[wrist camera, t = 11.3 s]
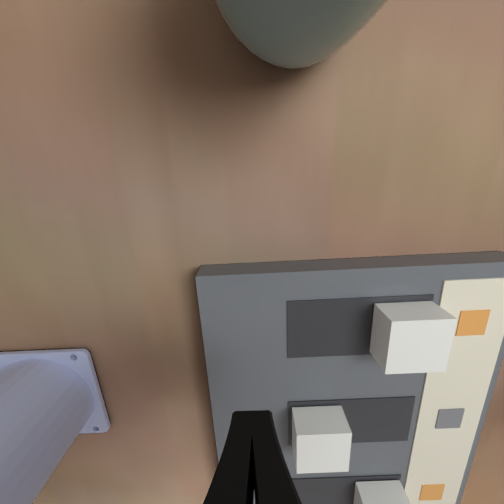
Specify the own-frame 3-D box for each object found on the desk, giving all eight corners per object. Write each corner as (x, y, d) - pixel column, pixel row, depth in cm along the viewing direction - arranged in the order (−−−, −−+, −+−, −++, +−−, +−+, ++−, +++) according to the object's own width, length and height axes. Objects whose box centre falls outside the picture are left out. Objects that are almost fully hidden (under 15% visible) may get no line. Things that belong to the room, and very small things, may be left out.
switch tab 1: (291, 443, 19) (296, 473, 17) (291, 407, 18) (296, 435, 16) (338, 441, 19) (348, 471, 17) (341, 405, 18) (351, 433, 16)
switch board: (228, 500, 24) (226, 531, 22) (201, 265, 17) (194, 277, 15) (438, 492, 24) (456, 522, 22) (499, 250, 17) (534, 261, 15)
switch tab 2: (369, 351, 16) (385, 374, 15) (374, 303, 15) (392, 321, 13) (423, 348, 16) (445, 371, 14) (431, 300, 15) (457, 318, 13)
